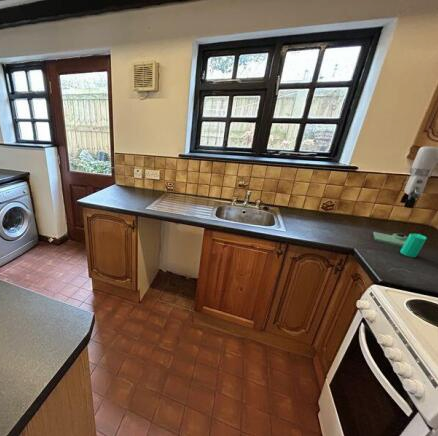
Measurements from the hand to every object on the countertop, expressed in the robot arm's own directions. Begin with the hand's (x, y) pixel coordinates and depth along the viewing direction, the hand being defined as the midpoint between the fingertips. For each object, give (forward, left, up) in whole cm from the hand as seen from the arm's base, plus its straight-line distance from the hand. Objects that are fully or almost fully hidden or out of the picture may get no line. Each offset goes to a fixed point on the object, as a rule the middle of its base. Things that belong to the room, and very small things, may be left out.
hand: (406, 205), depth 126 cm
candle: (-6, +10, -23) cm, 25 cm away
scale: (-1, -6, -23) cm, 24 cm away
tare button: (-5, -10, -20) cm, 23 cm away
